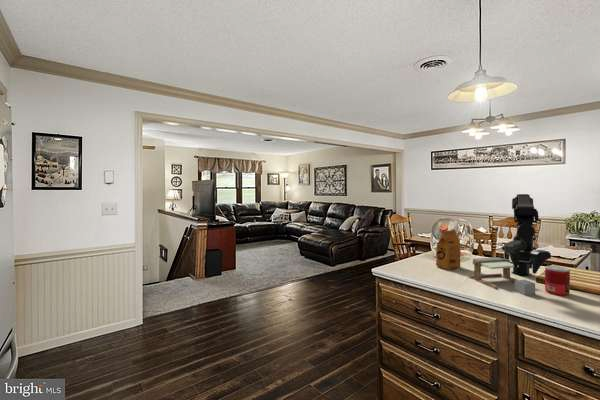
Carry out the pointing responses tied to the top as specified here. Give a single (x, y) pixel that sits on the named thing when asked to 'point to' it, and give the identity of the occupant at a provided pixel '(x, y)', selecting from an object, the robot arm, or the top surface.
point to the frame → (478, 276)
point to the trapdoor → (494, 263)
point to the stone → (524, 287)
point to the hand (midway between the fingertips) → (524, 270)
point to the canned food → (557, 280)
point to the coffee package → (448, 250)
